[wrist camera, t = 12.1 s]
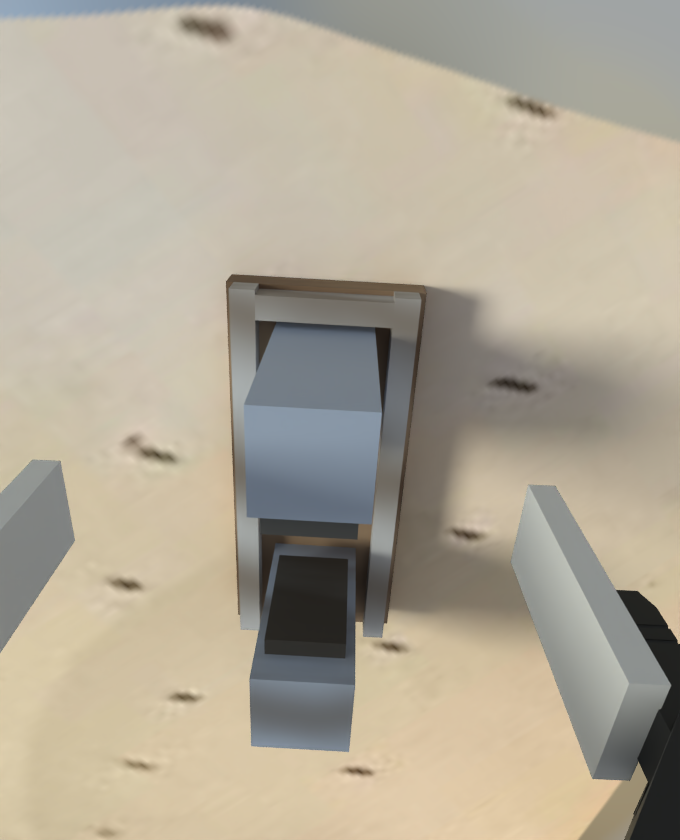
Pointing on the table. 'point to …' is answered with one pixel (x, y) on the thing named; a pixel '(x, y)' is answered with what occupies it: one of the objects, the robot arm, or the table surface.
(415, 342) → the rail board
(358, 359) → the blue-grey rectangular block
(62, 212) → the table surface
